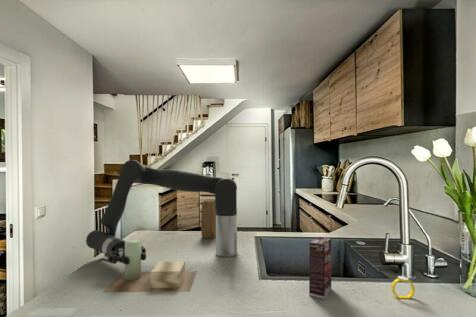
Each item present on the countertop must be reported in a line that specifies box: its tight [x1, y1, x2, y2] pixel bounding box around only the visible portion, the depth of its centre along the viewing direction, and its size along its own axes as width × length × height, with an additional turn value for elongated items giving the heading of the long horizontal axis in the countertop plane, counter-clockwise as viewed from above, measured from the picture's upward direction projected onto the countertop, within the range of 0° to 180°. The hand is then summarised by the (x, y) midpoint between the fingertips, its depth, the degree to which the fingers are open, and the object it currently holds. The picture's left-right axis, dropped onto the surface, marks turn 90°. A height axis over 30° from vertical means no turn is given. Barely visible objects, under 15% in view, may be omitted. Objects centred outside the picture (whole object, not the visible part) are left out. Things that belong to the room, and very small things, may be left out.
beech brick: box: [150, 260, 186, 288], centre depth 92 cm, size 9×9×5 cm
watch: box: [390, 275, 416, 300], centre depth 83 cm, size 6×3×6 cm, turn 84°
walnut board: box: [103, 270, 197, 293], centre depth 93 cm, size 26×16×1 cm, turn 91°
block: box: [200, 198, 216, 239], centre depth 154 cm, size 11×8×20 cm
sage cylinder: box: [124, 239, 142, 280], centre depth 96 cm, size 5×5×12 cm
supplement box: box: [308, 236, 332, 300], centre depth 87 cm, size 9×5×16 cm, turn 148°
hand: (136, 259), depth 94 cm, fingers closed on sage cylinder, 5 cm apart
